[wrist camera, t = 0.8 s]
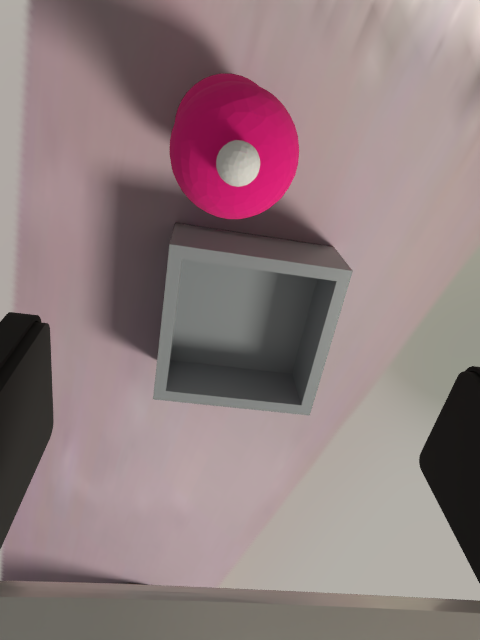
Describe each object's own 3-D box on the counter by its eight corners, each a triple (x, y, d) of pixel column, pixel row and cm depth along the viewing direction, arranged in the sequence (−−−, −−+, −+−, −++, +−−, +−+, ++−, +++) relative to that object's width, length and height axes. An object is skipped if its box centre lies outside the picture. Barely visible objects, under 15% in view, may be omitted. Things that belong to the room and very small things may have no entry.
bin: (175, 222, 38) (169, 244, 33) (333, 246, 40) (352, 270, 35) (160, 362, 44) (153, 399, 39) (298, 377, 46) (309, 415, 41)
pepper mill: (206, 191, 37) (201, 284, 20) (160, 104, 34) (106, 120, 16) (285, 149, 36) (358, 208, 18) (246, 56, 33) (287, 17, 15)
